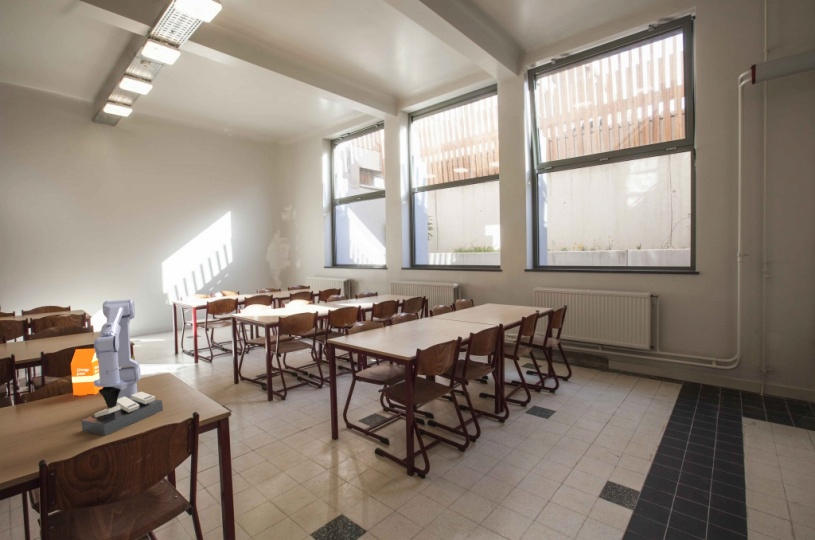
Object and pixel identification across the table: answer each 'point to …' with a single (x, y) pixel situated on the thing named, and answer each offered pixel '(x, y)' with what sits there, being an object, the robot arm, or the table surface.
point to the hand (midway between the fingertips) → (112, 406)
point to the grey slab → (120, 418)
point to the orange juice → (84, 372)
